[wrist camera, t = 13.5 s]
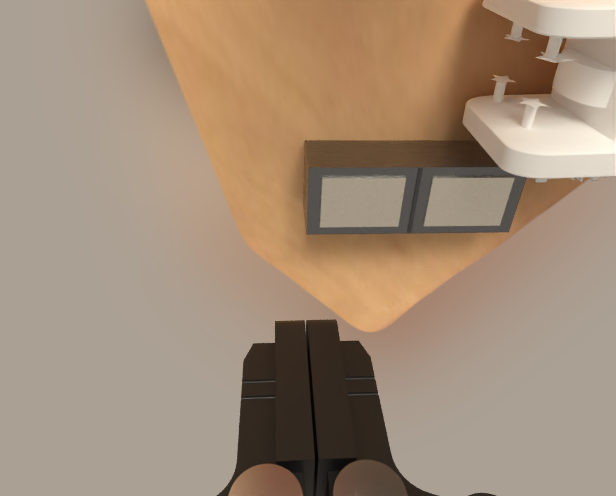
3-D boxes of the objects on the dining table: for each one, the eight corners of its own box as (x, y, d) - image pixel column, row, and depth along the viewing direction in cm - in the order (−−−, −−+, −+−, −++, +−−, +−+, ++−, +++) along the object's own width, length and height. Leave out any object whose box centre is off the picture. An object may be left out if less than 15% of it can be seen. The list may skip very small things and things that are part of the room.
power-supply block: (304, 140, 40) (308, 168, 35) (504, 140, 41) (530, 168, 36) (303, 203, 43) (306, 235, 39) (486, 201, 44) (509, 233, 40)
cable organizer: (683, -28, 34) (841, -2, 24) (626, 116, 40) (734, 182, 31) (476, -25, 33) (555, 4, 24) (450, 121, 39) (505, 190, 30)
